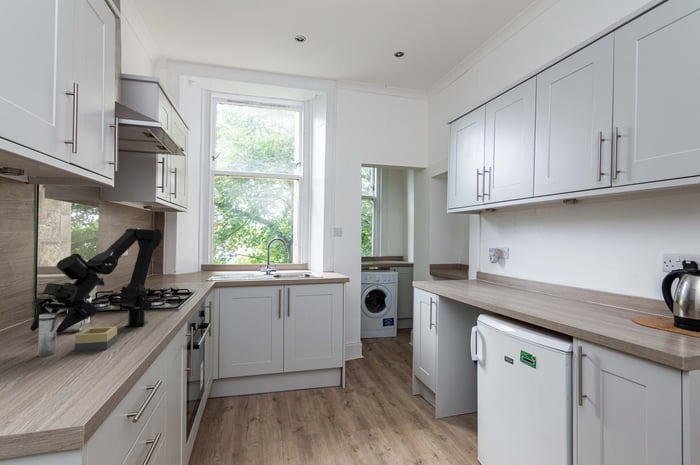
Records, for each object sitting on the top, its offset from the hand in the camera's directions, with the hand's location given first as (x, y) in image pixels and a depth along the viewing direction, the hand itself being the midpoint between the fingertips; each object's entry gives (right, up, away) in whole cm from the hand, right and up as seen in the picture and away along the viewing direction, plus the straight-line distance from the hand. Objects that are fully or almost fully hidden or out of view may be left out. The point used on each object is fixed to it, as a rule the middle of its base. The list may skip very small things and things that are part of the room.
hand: (44, 331), depth 99 cm
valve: (-12, -7, +23) cm, 27 cm away
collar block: (+9, -7, +8) cm, 15 cm away
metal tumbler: (0, -7, +1) cm, 7 cm away
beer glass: (-18, -7, +35) cm, 40 cm away
